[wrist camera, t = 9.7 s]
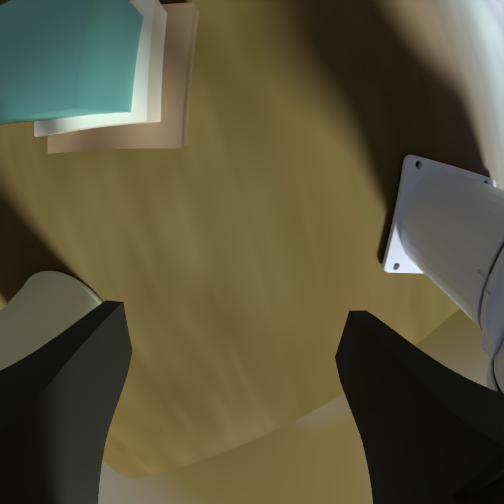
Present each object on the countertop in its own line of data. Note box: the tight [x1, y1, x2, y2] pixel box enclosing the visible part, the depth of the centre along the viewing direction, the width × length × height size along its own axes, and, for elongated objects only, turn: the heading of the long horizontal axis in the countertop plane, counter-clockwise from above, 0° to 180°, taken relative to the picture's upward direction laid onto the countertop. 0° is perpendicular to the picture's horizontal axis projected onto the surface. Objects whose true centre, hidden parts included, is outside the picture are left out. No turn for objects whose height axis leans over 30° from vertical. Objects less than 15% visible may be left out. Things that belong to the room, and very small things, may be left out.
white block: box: [34, 0, 167, 137], centre depth 11 cm, size 6×6×2 cm
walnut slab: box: [48, 3, 199, 154], centre depth 13 cm, size 8×8×2 cm
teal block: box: [0, 0, 143, 125], centre depth 7 cm, size 4×4×5 cm
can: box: [0, 271, 103, 370], centre depth 14 cm, size 9×9×12 cm
